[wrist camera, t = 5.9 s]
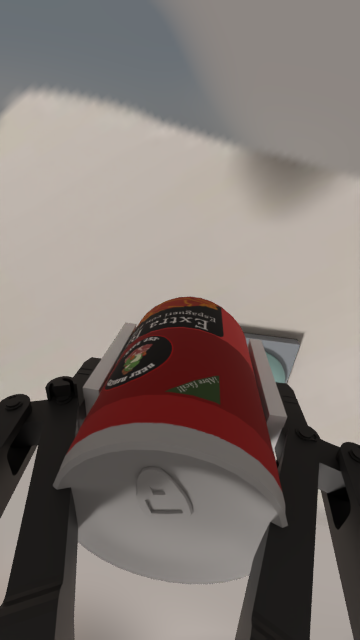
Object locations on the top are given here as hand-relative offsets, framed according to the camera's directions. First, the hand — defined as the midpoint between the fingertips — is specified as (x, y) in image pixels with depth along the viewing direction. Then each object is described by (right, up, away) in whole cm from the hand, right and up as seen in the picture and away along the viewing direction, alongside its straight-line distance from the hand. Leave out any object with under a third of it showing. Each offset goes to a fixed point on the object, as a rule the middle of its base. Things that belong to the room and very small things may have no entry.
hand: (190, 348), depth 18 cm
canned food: (0, 0, 0) cm, 0 cm away
